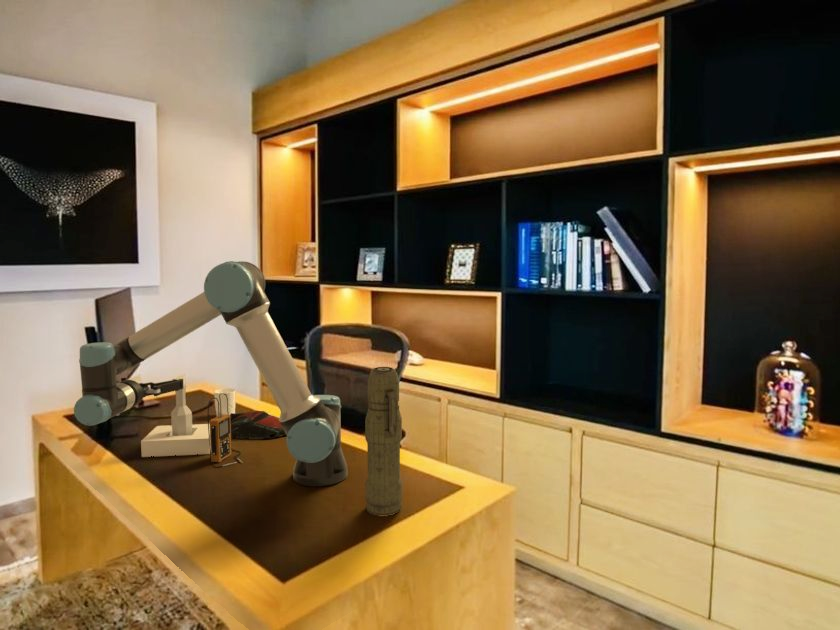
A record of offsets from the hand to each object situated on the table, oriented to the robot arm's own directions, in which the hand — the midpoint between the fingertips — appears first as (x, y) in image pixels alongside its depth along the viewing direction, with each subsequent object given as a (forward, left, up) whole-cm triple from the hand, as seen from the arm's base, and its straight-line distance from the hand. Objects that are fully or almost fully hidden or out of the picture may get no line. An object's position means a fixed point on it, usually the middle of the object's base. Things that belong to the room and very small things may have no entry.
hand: (162, 379), depth 172 cm
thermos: (-45, -64, -25) cm, 81 cm away
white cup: (+44, -10, -25) cm, 52 cm away
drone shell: (+21, -25, -25) cm, 42 cm away
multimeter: (-5, -21, -25) cm, 33 cm away
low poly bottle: (+9, -3, -25) cm, 27 cm away
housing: (+9, -3, -25) cm, 26 cm away
